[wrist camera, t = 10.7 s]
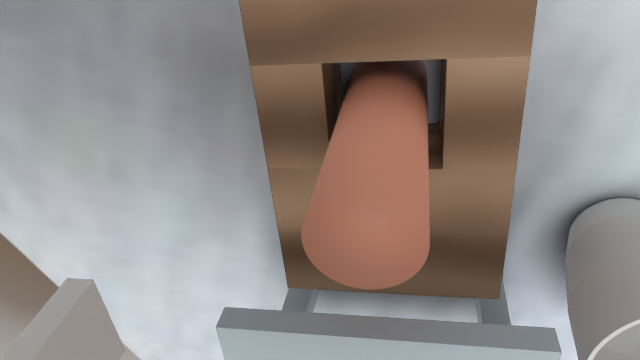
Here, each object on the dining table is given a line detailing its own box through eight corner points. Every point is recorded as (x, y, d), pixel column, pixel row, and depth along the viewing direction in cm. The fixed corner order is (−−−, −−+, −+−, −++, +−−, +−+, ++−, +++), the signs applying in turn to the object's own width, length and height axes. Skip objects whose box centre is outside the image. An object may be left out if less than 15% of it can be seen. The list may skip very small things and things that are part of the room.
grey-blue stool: (281, 179, 32) (215, 327, 22) (513, 182, 29) (561, 352, 19) (297, 284, 37) (249, 446, 27) (499, 294, 34) (532, 479, 24)
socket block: (264, -53, 25) (232, -36, 21) (522, -75, 23) (544, -60, 18) (304, 235, 34) (288, 288, 30) (489, 242, 32) (499, 299, 28)
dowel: (350, 44, 27) (293, 187, 15) (427, 41, 26) (430, 189, 14) (355, 113, 29) (308, 286, 17) (426, 112, 28) (428, 292, 16)
